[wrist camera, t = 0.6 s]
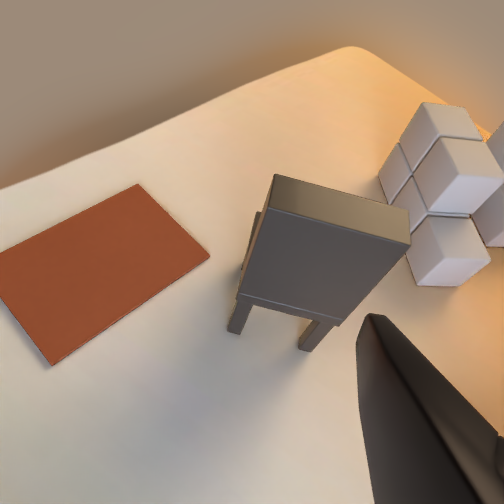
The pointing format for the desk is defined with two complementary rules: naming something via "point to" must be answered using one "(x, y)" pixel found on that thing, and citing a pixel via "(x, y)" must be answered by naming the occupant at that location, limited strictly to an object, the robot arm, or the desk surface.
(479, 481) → the robot arm
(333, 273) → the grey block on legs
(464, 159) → the puzzle cube
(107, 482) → the desk surface
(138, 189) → the mat
